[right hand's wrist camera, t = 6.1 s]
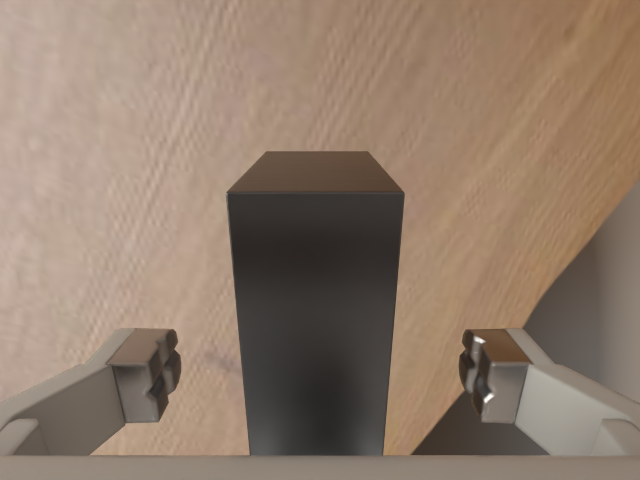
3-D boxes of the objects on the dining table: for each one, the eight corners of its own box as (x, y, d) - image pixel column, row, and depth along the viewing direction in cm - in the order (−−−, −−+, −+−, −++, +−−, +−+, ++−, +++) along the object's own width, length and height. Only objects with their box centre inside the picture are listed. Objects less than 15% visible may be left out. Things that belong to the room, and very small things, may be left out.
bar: (265, 151, 17) (225, 192, 10) (368, 151, 17) (405, 192, 10) (283, 508, 26) (269, 672, 19) (352, 508, 26) (365, 672, 19)
